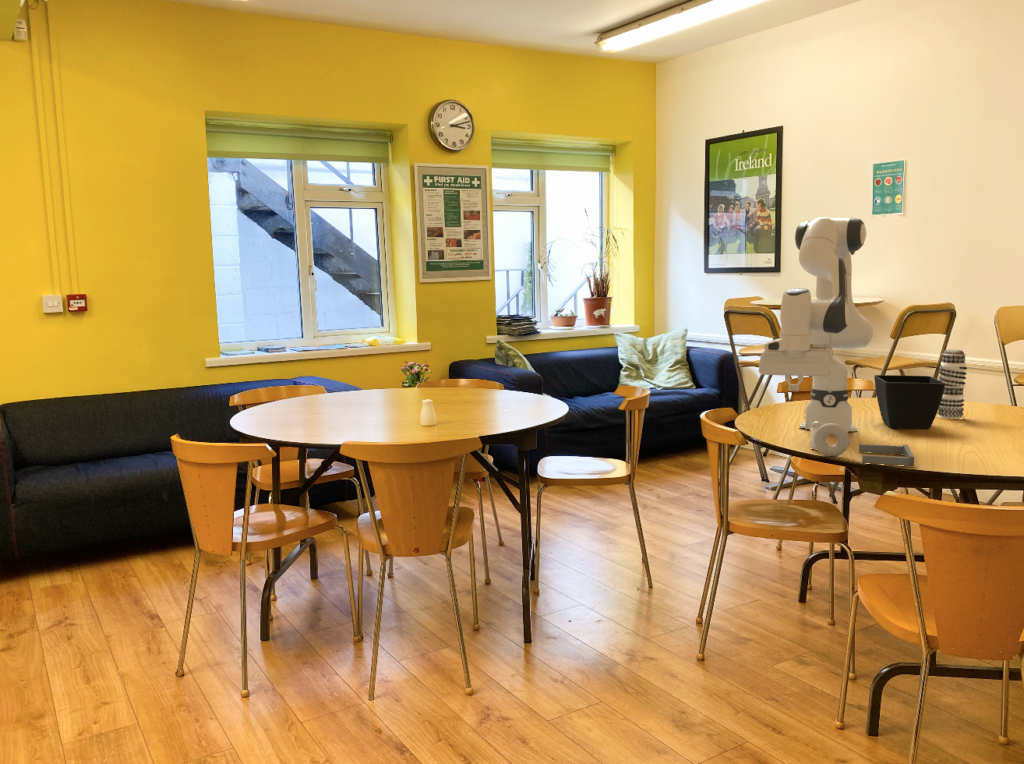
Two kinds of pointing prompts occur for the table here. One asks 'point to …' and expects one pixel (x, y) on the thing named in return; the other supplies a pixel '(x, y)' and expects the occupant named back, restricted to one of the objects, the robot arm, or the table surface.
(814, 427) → the salt shaker
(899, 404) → the flower pot
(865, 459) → the tray
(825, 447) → the donut
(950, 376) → the decorative candle
